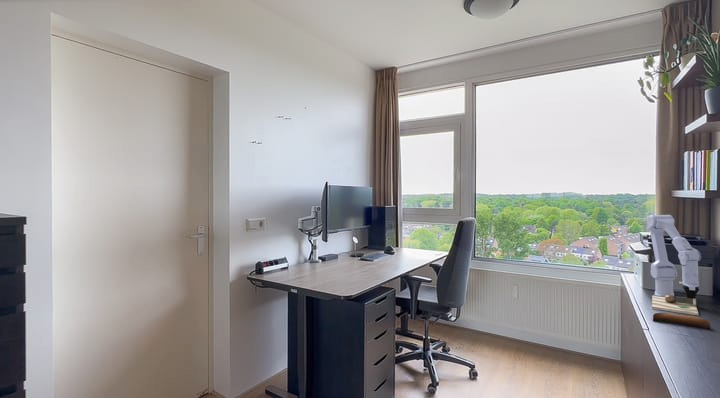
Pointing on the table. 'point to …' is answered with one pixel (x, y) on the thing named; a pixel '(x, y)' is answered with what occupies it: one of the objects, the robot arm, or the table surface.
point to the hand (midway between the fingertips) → (691, 301)
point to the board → (673, 306)
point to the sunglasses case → (681, 319)
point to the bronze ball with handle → (680, 299)
